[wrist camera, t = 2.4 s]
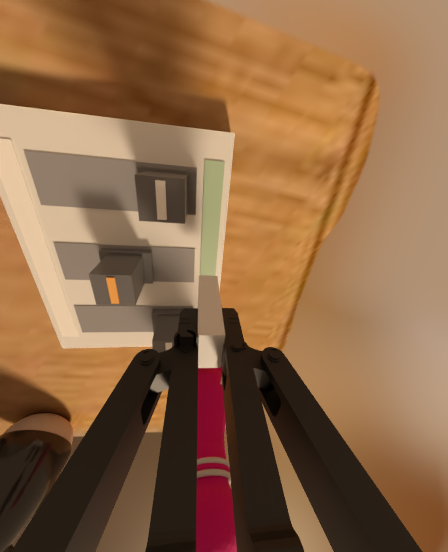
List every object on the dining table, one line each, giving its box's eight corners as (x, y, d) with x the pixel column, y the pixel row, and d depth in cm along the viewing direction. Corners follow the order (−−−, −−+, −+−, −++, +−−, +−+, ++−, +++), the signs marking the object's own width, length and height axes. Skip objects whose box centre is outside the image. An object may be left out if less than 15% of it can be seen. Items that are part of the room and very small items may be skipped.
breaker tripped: (108, 278, 21) (86, 307, 17) (101, 248, 19) (76, 272, 15) (154, 279, 21) (144, 307, 17) (151, 250, 20) (140, 274, 16)
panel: (71, 335, 26) (61, 349, 25) (-13, 105, 15) (-42, 98, 13) (213, 334, 29) (214, 346, 27) (231, 135, 18) (235, 132, 16)
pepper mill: (190, 343, 29) (179, 610, 12) (235, 355, 32) (280, 594, 14) (172, 374, 32) (144, 625, 15) (215, 383, 34) (232, 610, 17)
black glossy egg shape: (54, 442, 38) (-21, 592, 25) (-3, 420, 33) (-134, 592, 20) (97, 422, 36) (41, 572, 23) (43, 395, 31) (-67, 566, 18)
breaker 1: (143, 208, 18) (128, 223, 14) (139, 166, 16) (120, 169, 12) (195, 212, 18) (195, 227, 14) (196, 171, 17) (196, 176, 13)
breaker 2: (155, 330, 25) (146, 364, 21) (153, 309, 23) (143, 340, 19) (192, 330, 25) (191, 362, 21) (193, 309, 24) (192, 340, 20)
